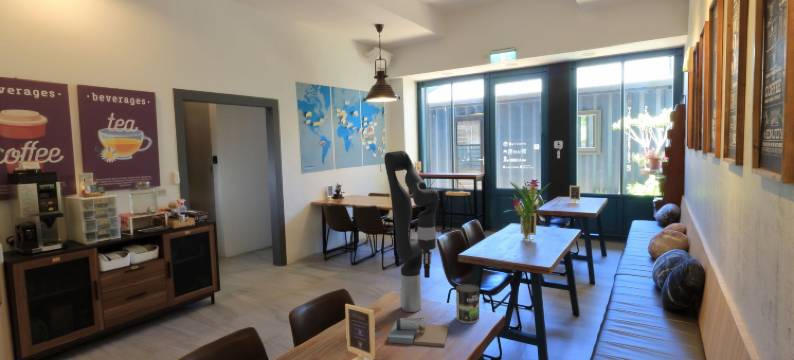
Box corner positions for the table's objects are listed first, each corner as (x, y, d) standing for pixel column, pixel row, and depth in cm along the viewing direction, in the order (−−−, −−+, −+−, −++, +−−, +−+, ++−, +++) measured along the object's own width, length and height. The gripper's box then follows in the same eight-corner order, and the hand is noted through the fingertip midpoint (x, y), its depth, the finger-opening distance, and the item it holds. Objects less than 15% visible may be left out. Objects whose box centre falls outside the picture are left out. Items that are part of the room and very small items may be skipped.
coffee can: (484, 320, 185) (484, 289, 184) (465, 325, 180) (465, 293, 179) (470, 311, 194) (469, 282, 193) (451, 316, 190) (451, 286, 188)
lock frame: (396, 324, 183) (396, 313, 182) (448, 328, 178) (448, 316, 178) (388, 342, 167) (387, 330, 167) (444, 346, 163) (444, 334, 162)
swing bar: (426, 327, 174) (425, 317, 173) (425, 330, 170) (425, 320, 170) (397, 326, 175) (397, 317, 175) (396, 330, 172) (396, 320, 171)
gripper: (418, 233, 181) (418, 272, 183) (416, 240, 168) (417, 282, 170) (435, 233, 180) (435, 272, 182) (435, 240, 167) (436, 282, 169)
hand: (427, 277), depth 176 cm, fingers closed
